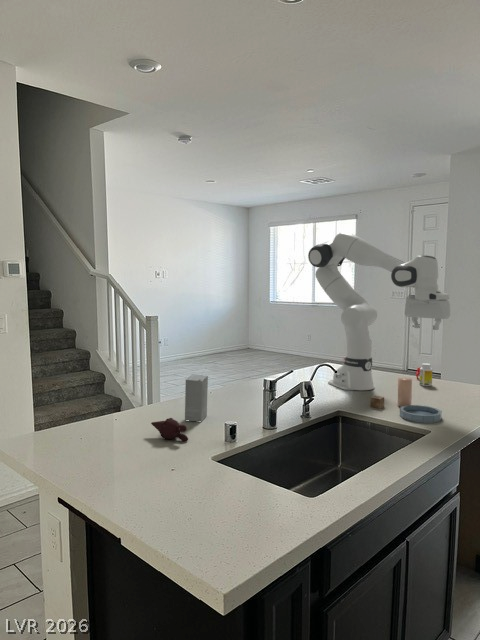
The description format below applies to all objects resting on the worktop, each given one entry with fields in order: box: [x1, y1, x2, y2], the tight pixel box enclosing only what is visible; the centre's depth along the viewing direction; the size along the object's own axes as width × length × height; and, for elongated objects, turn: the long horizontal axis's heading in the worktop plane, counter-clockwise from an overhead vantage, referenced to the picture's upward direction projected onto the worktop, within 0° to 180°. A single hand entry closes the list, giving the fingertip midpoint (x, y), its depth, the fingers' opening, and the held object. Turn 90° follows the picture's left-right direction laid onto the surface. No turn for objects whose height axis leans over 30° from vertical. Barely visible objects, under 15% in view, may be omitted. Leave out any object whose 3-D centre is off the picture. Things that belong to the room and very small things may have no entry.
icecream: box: [150, 417, 189, 442], centre depth 152 cm, size 7×7×15 cm
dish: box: [399, 404, 443, 424], centre depth 174 cm, size 14×14×2 cm
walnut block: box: [370, 395, 385, 410], centre depth 187 cm, size 4×4×4 cm
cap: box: [415, 366, 422, 380], centre depth 237 cm, size 8×6×6 cm
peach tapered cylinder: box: [397, 377, 413, 408], centre depth 188 cm, size 5×5×11 cm
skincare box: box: [184, 373, 209, 422], centre depth 172 cm, size 8×7×16 cm
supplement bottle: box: [419, 362, 433, 387], centre depth 224 cm, size 6×6×10 cm
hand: (426, 329), depth 192 cm, fingers open, 8 cm apart
